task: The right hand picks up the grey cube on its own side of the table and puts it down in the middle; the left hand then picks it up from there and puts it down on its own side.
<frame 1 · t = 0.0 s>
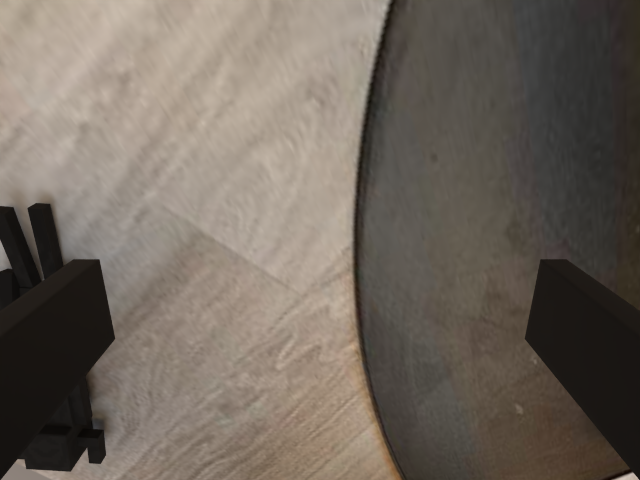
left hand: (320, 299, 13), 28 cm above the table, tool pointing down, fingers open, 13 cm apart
toy: (58, 332, 46), on the table
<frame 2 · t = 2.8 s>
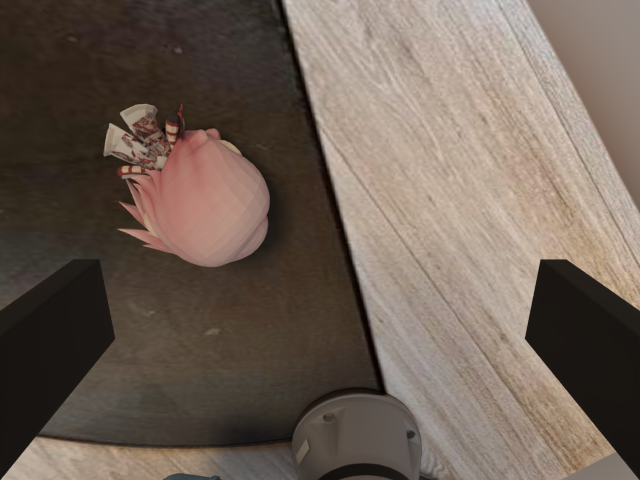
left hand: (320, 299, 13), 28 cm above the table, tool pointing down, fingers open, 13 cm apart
toy 2: (201, 183, 40), on the table
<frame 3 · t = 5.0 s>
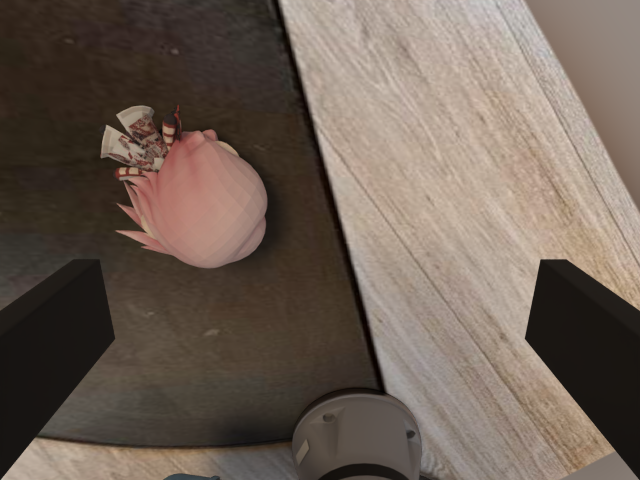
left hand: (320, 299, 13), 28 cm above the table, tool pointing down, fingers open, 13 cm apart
toy 2: (199, 184, 40), on the table
when the right hand's fingers open (3 cm above the table, at t = 7.6 s): grey cube drops 2 cm, on the table.
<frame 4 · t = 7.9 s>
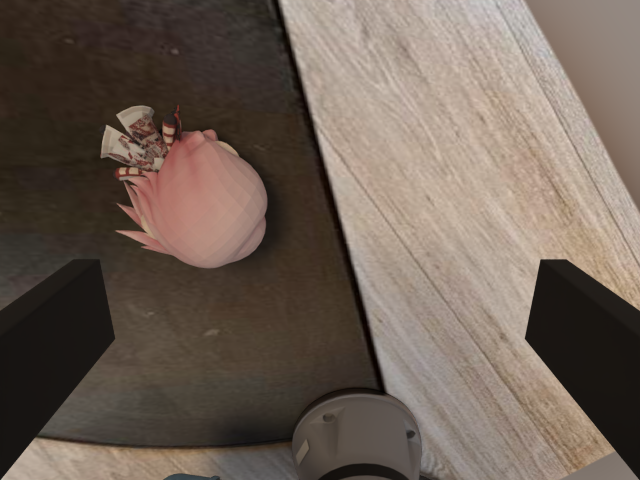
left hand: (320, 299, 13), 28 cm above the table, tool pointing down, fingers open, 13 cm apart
toy 2: (199, 184, 40), on the table
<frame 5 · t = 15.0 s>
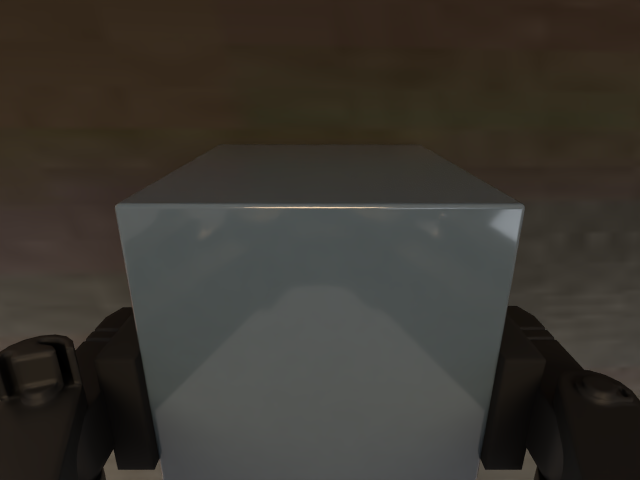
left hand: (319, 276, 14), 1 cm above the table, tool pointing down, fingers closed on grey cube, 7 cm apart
grey cube: (319, 259, 15), on the table, touching left hand
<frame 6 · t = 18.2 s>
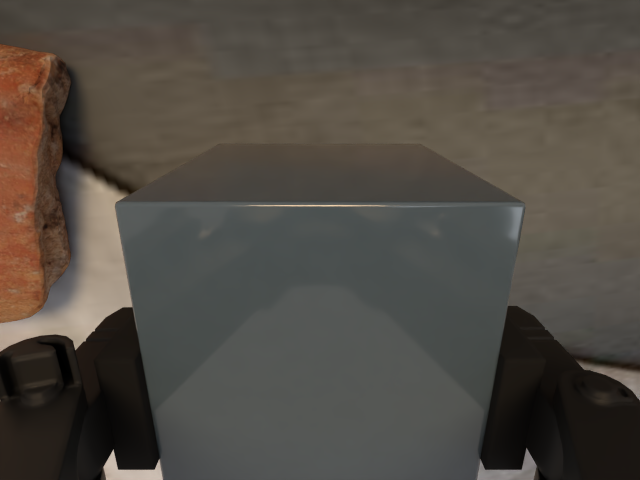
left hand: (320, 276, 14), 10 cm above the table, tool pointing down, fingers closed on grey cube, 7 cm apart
grey cube: (319, 258, 15), point 9 cm above the table, touching left hand
when the left hand's fingers open (3 cm above the table, at t = 21.2 s): grey cube drops 2 cm, on the table.
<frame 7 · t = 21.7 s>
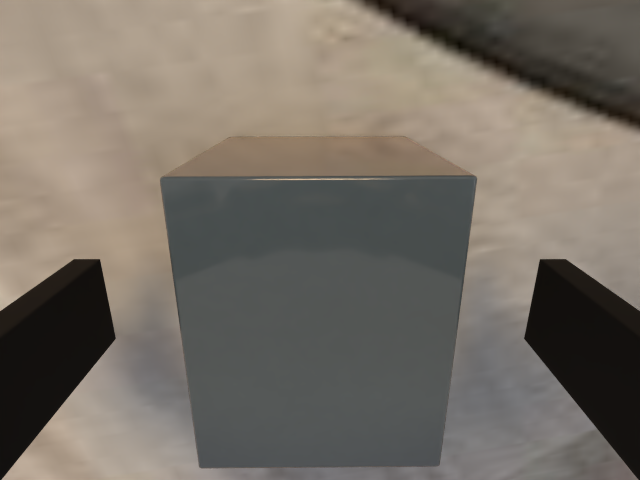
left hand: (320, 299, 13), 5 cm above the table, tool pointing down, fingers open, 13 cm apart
grey cube: (318, 238, 17), on the table
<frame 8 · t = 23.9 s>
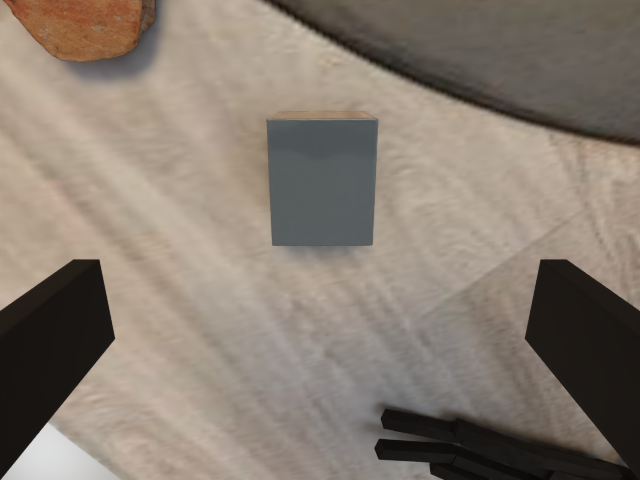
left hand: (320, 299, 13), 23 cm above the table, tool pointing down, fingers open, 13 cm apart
toy: (506, 451, 45), on the table
grey cube: (321, 165, 34), on the table
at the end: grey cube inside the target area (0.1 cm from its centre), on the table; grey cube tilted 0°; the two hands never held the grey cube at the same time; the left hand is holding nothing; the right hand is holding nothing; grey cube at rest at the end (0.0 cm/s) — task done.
